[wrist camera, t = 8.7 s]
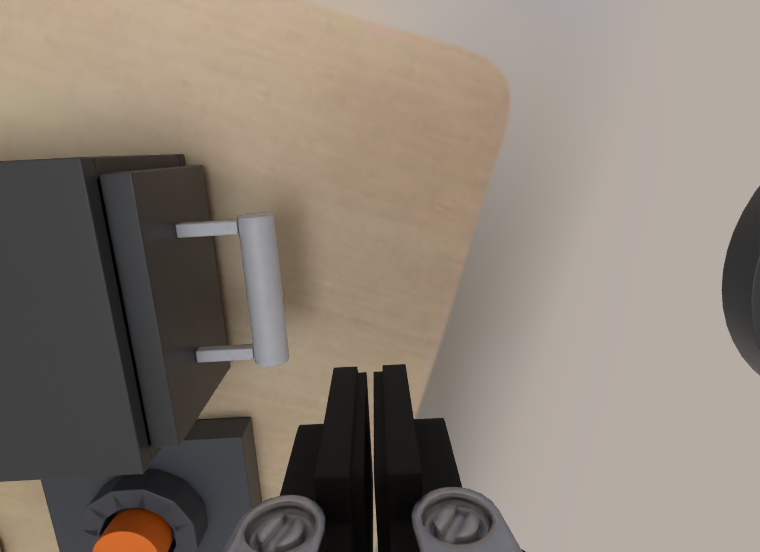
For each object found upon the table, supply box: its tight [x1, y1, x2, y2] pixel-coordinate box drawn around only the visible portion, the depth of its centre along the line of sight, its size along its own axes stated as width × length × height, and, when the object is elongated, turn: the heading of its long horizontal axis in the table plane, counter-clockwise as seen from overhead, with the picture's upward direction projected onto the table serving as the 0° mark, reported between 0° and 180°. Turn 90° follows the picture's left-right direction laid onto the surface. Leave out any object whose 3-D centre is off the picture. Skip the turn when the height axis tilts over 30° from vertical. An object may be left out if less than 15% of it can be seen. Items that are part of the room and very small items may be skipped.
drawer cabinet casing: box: [0, 154, 185, 482], centre depth 23 cm, size 15×13×10 cm
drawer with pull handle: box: [98, 165, 289, 448], centre depth 23 cm, size 18×11×8 cm, turn 93°
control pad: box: [41, 417, 262, 552], centre depth 29 cm, size 12×10×4 cm
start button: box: [93, 508, 172, 552], centre depth 27 cm, size 4×4×2 cm
